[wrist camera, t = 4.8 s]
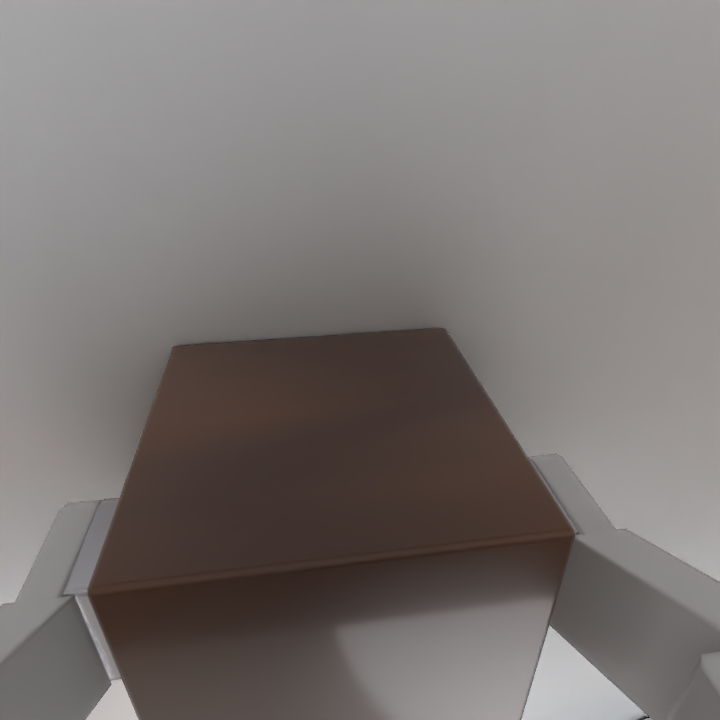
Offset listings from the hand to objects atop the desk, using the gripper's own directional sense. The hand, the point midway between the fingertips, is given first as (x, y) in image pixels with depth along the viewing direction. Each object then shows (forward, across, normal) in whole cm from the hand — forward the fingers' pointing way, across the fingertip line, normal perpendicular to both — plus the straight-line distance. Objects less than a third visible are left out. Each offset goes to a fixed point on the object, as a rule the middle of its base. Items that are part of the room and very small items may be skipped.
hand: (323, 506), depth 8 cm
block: (+2, 0, 0) cm, 2 cm away
